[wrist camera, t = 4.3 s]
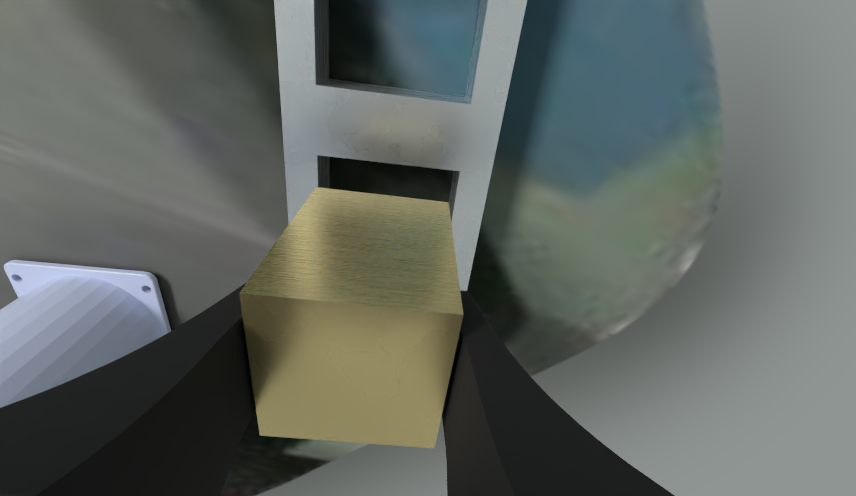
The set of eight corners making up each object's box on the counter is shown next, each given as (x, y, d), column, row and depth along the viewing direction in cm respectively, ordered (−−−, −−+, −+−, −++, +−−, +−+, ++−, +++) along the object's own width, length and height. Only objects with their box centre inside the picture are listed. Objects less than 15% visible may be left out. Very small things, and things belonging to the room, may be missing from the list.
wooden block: (431, 306, 15) (434, 448, 10) (318, 295, 15) (259, 435, 10) (448, 202, 13) (463, 314, 8) (315, 186, 13) (239, 293, 8)
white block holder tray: (456, 297, 23) (460, 324, 21) (306, 283, 23) (294, 310, 20) (544, -157, 13) (567, -194, 11) (285, -202, 13) (257, -250, 11)
